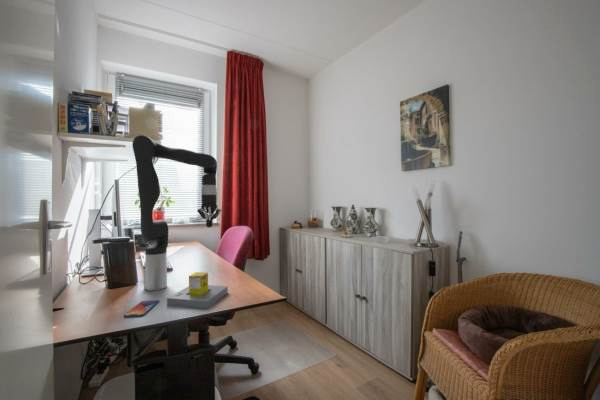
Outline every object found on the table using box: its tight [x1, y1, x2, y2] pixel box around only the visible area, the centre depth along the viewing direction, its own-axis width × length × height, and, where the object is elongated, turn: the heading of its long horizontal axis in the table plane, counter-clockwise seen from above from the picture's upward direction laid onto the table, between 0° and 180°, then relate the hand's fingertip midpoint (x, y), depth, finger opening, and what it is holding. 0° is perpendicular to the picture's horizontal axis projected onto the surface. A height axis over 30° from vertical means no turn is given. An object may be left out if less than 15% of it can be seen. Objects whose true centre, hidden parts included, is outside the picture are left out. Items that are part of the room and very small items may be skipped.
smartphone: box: [123, 299, 160, 318], centre depth 107 cm, size 7×15×1 cm, turn 6°
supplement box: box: [188, 271, 209, 296], centre depth 117 cm, size 6×6×11 cm
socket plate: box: [166, 284, 229, 310], centre depth 117 cm, size 18×18×3 cm
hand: (209, 227), depth 139 cm, fingers closed
